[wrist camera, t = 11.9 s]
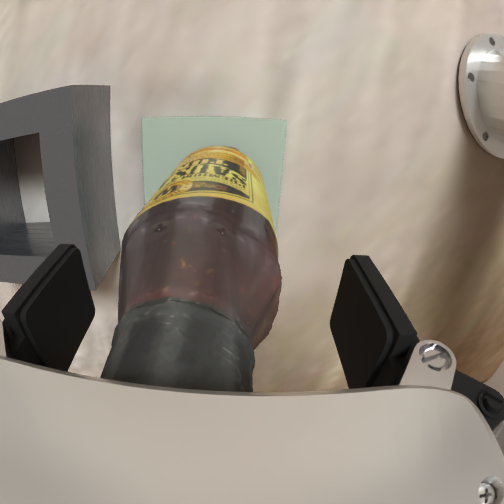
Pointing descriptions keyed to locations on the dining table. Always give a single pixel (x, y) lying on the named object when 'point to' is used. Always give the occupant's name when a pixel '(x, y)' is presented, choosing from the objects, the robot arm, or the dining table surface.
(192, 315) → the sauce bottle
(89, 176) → the collar
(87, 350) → the dining table surface
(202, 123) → the mat
